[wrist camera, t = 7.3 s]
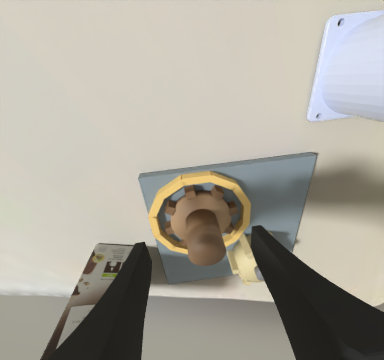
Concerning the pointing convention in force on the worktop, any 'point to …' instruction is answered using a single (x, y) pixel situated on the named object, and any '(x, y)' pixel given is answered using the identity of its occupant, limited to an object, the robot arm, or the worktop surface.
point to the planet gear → (201, 223)
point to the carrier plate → (243, 221)
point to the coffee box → (88, 290)
